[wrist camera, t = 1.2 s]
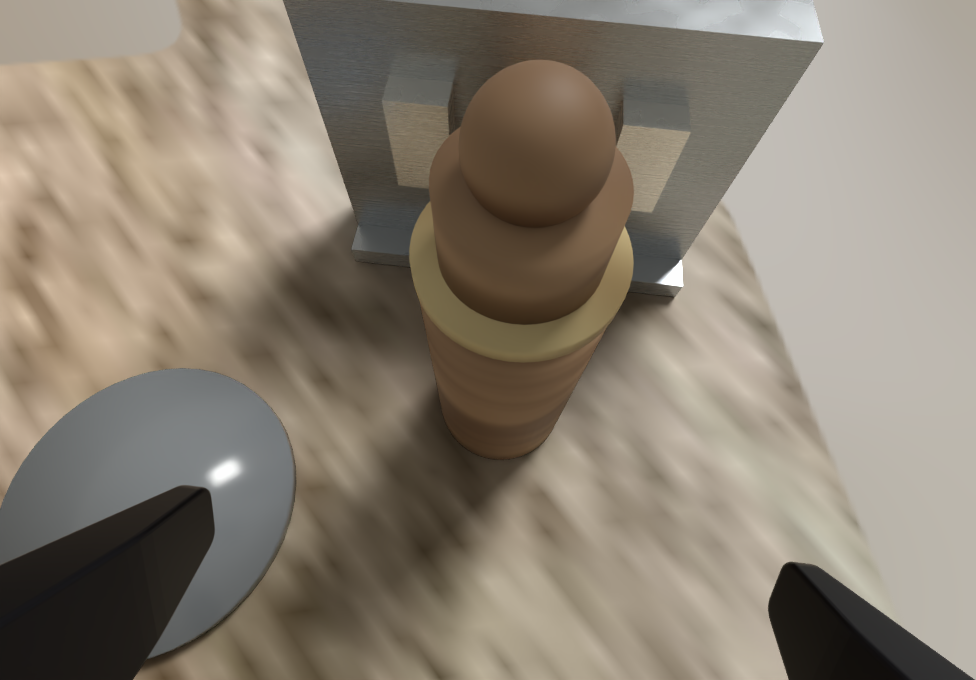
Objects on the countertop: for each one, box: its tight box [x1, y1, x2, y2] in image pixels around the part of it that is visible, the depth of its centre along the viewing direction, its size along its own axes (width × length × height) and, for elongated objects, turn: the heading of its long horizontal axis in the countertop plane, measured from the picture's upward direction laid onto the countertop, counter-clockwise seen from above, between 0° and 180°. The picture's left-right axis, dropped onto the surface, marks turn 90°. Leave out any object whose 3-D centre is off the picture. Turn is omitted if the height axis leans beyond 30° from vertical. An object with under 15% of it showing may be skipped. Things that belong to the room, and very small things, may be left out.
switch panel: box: [283, 0, 824, 297], centre depth 21 cm, size 6×16×12 cm, turn 83°
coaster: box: [0, 368, 296, 659], centre depth 20 cm, size 11×11×1 cm
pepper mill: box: [409, 60, 634, 460], centre depth 15 cm, size 5×5×16 cm
